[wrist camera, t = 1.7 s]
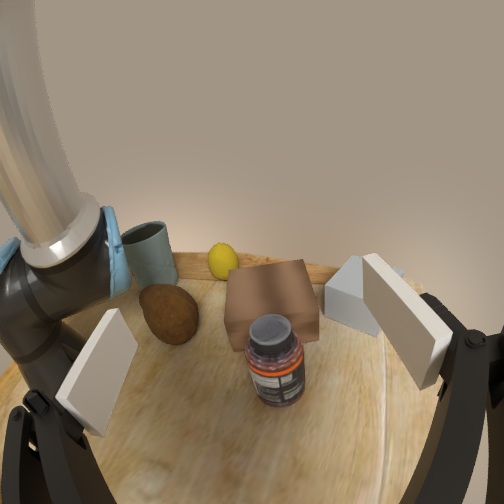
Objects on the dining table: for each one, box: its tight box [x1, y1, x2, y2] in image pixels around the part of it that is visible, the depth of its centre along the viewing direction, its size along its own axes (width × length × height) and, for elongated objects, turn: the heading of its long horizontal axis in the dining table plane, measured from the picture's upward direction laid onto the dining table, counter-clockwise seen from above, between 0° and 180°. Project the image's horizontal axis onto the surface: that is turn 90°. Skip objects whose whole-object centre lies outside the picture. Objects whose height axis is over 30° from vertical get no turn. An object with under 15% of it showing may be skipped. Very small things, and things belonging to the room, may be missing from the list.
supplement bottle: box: [245, 314, 305, 407], centre depth 27 cm, size 6×6×11 cm
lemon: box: [208, 243, 239, 280], centre depth 50 cm, size 6×6×8 cm
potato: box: [139, 284, 198, 345], centre depth 40 cm, size 8×12×9 cm
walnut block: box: [224, 259, 319, 352], centre depth 40 cm, size 12×12×6 cm
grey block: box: [324, 255, 404, 338], centre depth 38 cm, size 9×9×6 cm
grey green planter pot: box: [120, 221, 178, 291], centre depth 52 cm, size 10×10×12 cm
